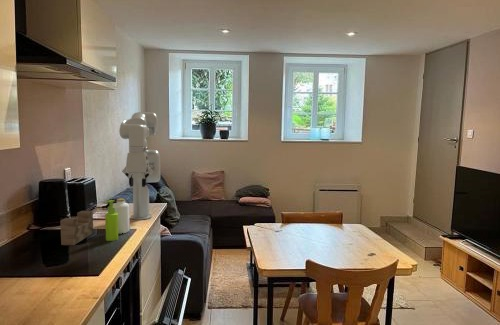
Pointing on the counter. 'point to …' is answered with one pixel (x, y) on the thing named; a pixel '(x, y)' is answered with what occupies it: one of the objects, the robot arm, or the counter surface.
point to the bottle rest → (76, 228)
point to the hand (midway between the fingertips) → (137, 186)
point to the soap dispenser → (111, 222)
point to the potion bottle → (122, 215)
